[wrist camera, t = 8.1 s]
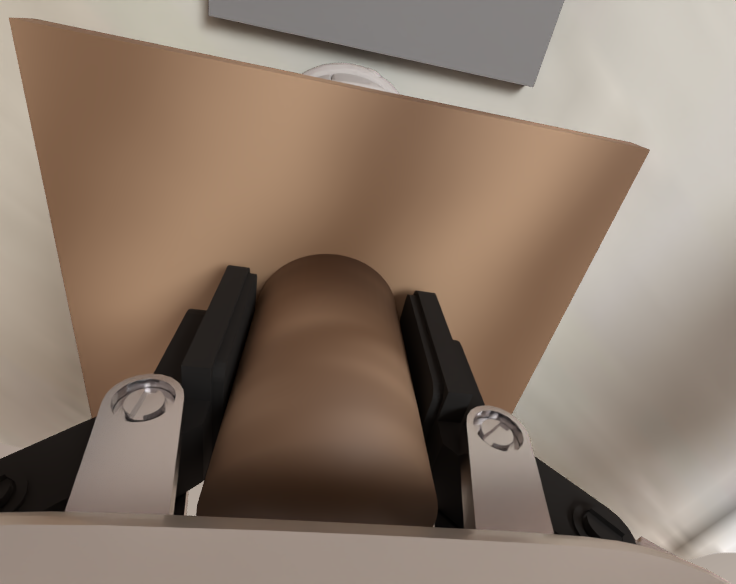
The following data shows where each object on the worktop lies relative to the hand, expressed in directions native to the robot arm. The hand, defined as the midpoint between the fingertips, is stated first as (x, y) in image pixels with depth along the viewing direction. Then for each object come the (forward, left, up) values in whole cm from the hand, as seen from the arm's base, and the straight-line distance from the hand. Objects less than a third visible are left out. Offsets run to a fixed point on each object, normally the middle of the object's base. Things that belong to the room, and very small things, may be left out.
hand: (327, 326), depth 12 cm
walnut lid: (0, 0, -1) cm, 1 cm away
